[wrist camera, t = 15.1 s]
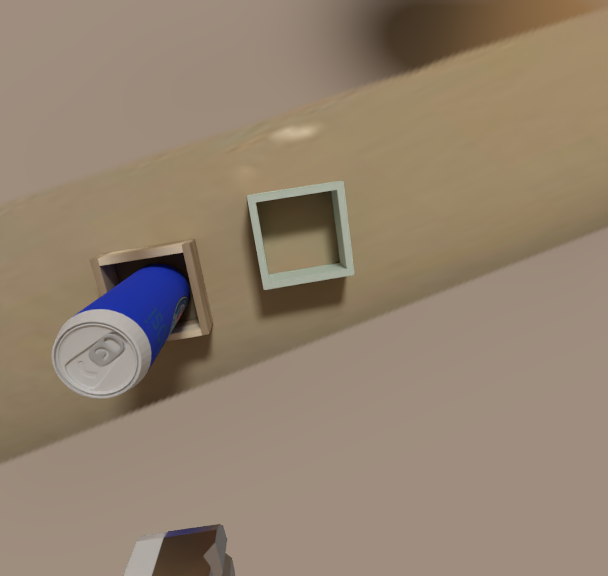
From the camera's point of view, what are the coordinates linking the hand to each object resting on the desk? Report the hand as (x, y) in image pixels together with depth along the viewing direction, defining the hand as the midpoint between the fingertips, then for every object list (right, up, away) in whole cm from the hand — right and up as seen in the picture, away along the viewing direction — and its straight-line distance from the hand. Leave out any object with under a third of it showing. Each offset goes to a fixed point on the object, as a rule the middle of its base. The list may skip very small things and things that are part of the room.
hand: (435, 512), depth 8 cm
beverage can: (-15, +4, +29) cm, 33 cm away
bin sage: (-3, +9, +29) cm, 30 cm away
